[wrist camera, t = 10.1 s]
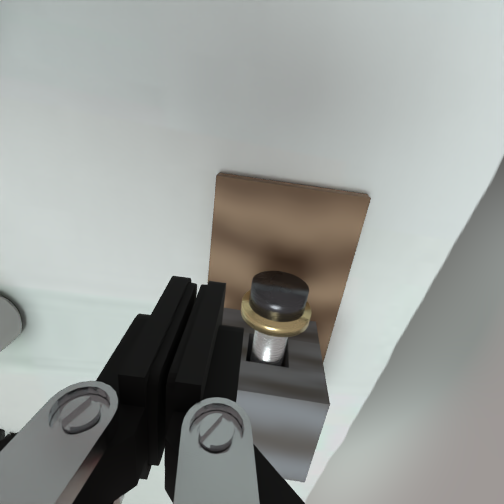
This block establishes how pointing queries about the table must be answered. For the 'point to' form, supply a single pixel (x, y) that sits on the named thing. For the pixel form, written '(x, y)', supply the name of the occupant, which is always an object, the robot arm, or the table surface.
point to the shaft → (275, 313)
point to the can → (8, 323)
